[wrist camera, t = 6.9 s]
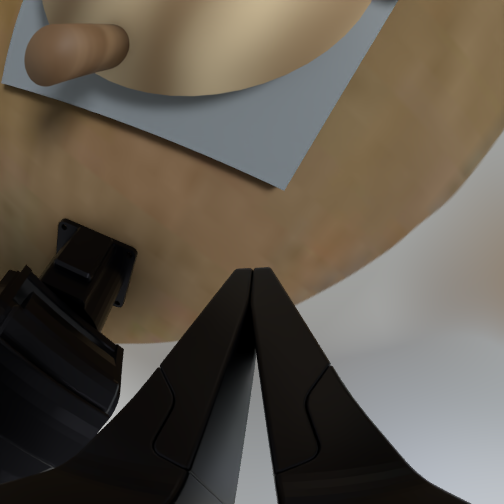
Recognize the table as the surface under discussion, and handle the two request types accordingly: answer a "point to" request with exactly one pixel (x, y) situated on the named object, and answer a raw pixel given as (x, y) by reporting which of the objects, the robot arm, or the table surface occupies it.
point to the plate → (220, 101)
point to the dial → (185, 41)
